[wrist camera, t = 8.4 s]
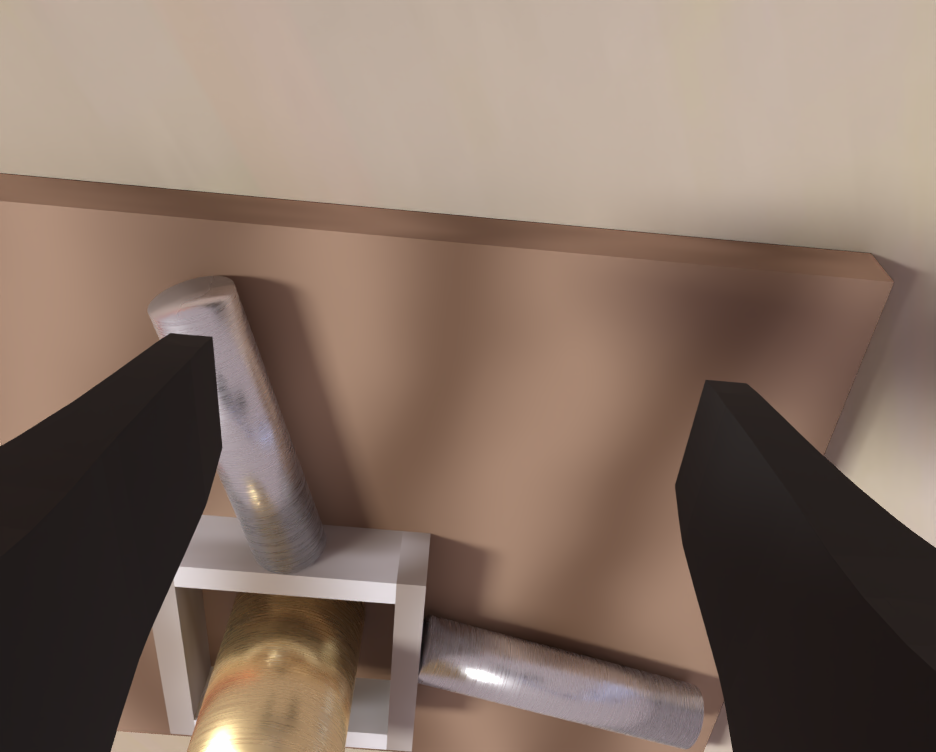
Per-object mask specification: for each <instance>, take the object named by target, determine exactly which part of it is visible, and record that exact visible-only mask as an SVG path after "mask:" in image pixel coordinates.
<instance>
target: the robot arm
mask: <svg viewBox="0 0 936 752" xmlns="http://www.w3.org/2000/svg"><path fill="white" fill-rule="evenodd" d="M221 451H222V436H221V425H220V414H219V403H218V391H217V380H216V369H215V358H214V346H213V337H210V336H199V335H188V334H176V333H170V334H168V335H167V336H165V337H163V338H162V339H160V340H159V341H158V342H156V343H155V344H153V345H152V346H150V347H149V348H148V349H146V350H145V351H143V352H142V353H141V354H139V355H138V356H137V357H135V358H134V359H132V360H131V361H130V362H128V363H127V364H126V365H124V366H123V367H121V368H120V369H119V370H117V371H116V372H114V373H113V374H112V375H110V376H109V377H107V378H106V379H104V380H103V381H102V382H100V383H99V384H97V385H96V386H94V387H93V388H92V389H90V390H89V391H87V392H86V393H84V394H83V395H82V396H80V397H79V398H77V399H76V400H74V401H73V402H71V403H70V404H68V405H67V406H65V407H63V408H62V409H60V410H59V411H57V412H55V413H54V414H52V415H51V416H49V417H47V418H46V419H44V420H43V421H41V422H39V423H38V424H36V425H35V426H33V427H32V428H30V429H28V430H27V431H25V432H24V433H22V434H20V435H19V436H17V437H15V438H14V439H12V440H10V441H8V442H7V443H5V444H3V445H1V446H0V752H111V748H112V745H113V742H114V738H115V735H116V731H117V728H118V725H119V721H120V718H121V715H122V712H123V709H124V706H125V703H126V700H127V696H128V693H129V690H130V687H131V684H132V681H133V678H134V675H135V672H136V668H137V665H138V662H139V659H140V657H141V654H142V651H143V649H144V646H145V644H146V641H147V639H148V636H149V634H150V631H151V629H152V627H153V624H154V622H155V620H156V618H157V615H158V613H159V611H160V609H161V606H162V604H163V602H164V600H165V597H166V595H167V593H168V591H169V589H170V586H171V584H172V582H173V580H174V577H175V575H176V573H177V571H178V568H179V566H180V564H181V562H182V559H183V557H184V555H185V553H186V551H187V548H188V546H189V544H190V541H191V539H192V537H193V535H194V532H195V530H196V528H197V525H198V523H199V521H200V519H201V516H202V514H203V512H204V509H205V507H206V504H207V501H208V497H209V494H210V491H211V487H212V484H213V481H214V477H215V473H216V470H217V466H218V462H219V459H220V455H221ZM675 491H676V500H677V509H678V517H679V525H680V532H681V539H682V545H683V549H684V553H685V557H686V560H687V564H688V568H689V571H690V575H691V579H692V583H693V586H694V590H695V594H696V597H697V601H698V604H699V608H700V611H701V615H702V618H703V622H704V626H705V629H706V633H707V636H708V640H709V643H710V647H711V650H712V654H713V658H714V661H715V665H716V668H717V672H718V676H719V680H720V684H721V689H722V693H723V697H724V702H725V707H726V713H727V719H728V725H729V731H730V737H731V743H732V749H733V752H936V548H935V547H934V546H932V545H931V544H930V543H928V542H927V541H925V540H924V539H923V538H921V537H920V536H918V535H917V534H916V533H914V532H913V531H911V530H910V529H909V528H908V527H906V526H905V525H904V524H902V523H901V522H900V521H898V520H897V519H896V518H895V517H893V516H892V515H891V514H890V513H889V512H887V511H886V510H885V509H884V508H883V507H881V506H880V505H879V504H878V503H877V502H875V501H874V500H873V499H872V498H870V497H869V496H868V495H867V494H866V493H864V492H863V491H862V490H861V489H860V488H859V487H857V486H856V485H855V484H854V483H853V482H852V481H851V480H850V479H848V478H847V477H846V476H845V475H844V474H843V473H842V472H841V471H839V470H838V469H837V468H836V467H835V466H834V465H833V464H832V463H831V462H830V461H828V460H827V459H826V458H825V457H824V456H823V455H822V454H821V453H820V452H819V451H818V450H817V449H816V448H815V447H814V446H813V445H812V444H810V443H809V442H808V441H807V440H806V439H805V438H804V437H803V436H802V435H801V434H800V433H799V432H798V431H797V430H796V429H795V428H794V427H793V426H792V425H791V424H790V423H789V422H788V421H787V420H786V419H785V418H784V417H783V416H782V415H781V414H780V413H778V412H777V411H776V410H775V409H774V408H773V407H772V406H771V405H770V404H769V403H768V402H767V401H766V400H765V399H764V398H763V397H762V396H761V395H760V394H759V393H757V392H756V391H755V390H754V389H753V388H752V387H751V386H749V385H748V384H747V383H738V382H727V381H715V380H705V383H704V387H703V390H702V394H701V397H700V400H699V404H698V407H697V411H696V414H695V418H694V421H693V425H692V428H691V431H690V435H689V438H688V442H687V445H686V449H685V452H684V456H683V459H682V462H681V466H680V469H679V473H678V476H677V480H676V483H675Z"/></svg>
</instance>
